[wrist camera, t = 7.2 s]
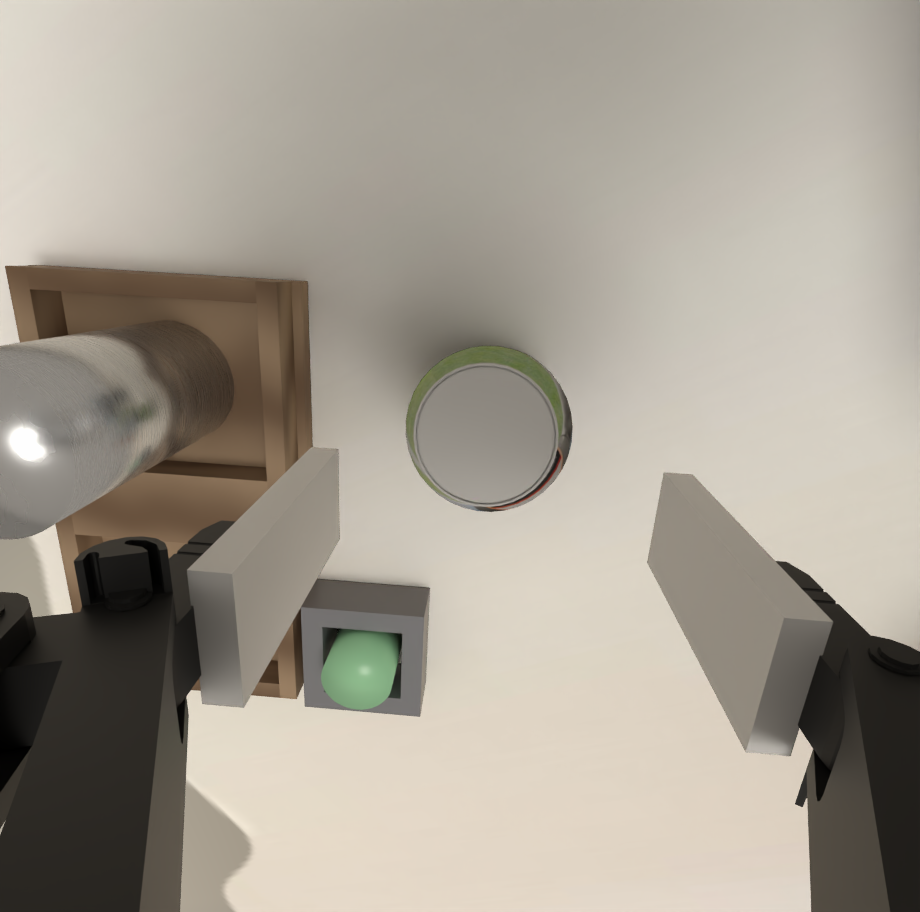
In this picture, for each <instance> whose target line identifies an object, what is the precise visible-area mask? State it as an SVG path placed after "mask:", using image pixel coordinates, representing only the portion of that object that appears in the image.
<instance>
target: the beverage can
mask: <svg viewBox="0 0 920 912" xmlns="http://www.w3.org/2000/svg"><path fill="white" fill-rule="evenodd" d="M406 438H407V445H408V450H409V453H410V455H411V458H412V461H413V463H414V465H415V467H416V469H417V471H418V472H419V474H420V476H421V477H422V478H423V479H424V481H425V482H426V483H427V484H428V485H429V486H430V487H431V488H432V489H433V490H434V491H435V492H436V493H437V494H438V495H440V496H442V497H443V498H445V499H446V500H448V501H449V502H451V503H454V504H456V505H458V506H461V507H463V508H467V509H472V510H476V511H488V512H493V511H503V510H508V509H511V508H515V507H518V506H521V505H523V504H525V503H527V502H529V501H531V500H533V499H534V498H536V497H537V496H538V495H540V494H541V493H543V492H544V491H545V490H546V489H547V488H548V487H549V486H550V485H551V484H552V483H553V482H554V480H555V479H556V477H557V476H558V475H559V473H560V472H561V470H562V468H563V466H564V464H565V462H566V459H567V457H568V454H569V450H570V446H571V442H572V418H571V411H570V408H569V405H568V401H567V398H566V396H565V394H564V392H563V390H562V388H561V386H560V385H559V383H558V382H557V381H556V379H555V378H554V377H553V375H552V374H551V373H550V372H549V371H548V370H547V369H546V368H545V367H544V366H543V365H541V364H540V363H539V362H538V361H536V360H535V359H533V358H532V357H530V356H529V355H527V354H525V353H522V352H520V351H517V350H514V349H509V348H504V347H500V346H479V347H473V348H468V349H465V350H462V351H459V352H456V353H454V354H452V355H450V356H448V357H446V358H445V359H443V360H441V361H440V362H439V363H438V364H436V365H435V366H434V367H433V368H432V369H430V371H429V372H428V373H427V374H426V375H425V376H424V377H423V379H422V380H421V381H420V383H419V385H418V386H417V388H416V390H415V391H414V393H413V396H412V399H411V401H410V404H409V407H408V412H407V418H406Z"/></svg>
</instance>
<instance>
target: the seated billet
mask: <svg viewBox="0 0 920 912" xmlns="http://www.w3.org/2000/svg"><path fill="white" fill-rule="evenodd" d="M233 400H234V381H233V376H232V372H231V369H230V366H229V364H228V362H227V360H226V358H225V356H224V355H223V353H222V352H221V350H220V349H219V348H218V347H217V345H216V344H215V343H214V342H213V341H212V340H211V339H210V338H209V337H207V336H206V335H205V334H203V333H202V332H201V331H199V330H197V329H195V328H194V327H192V326H189V325H187V324H184V323H180V322H176V321H169V320H167V321H154V322H148V323H141V324H135V325H129V326H123V327H116V328H110V329H104V330H97V331H91V332H85V333H78V334H72V335H66V336H59V337H53V338H47V339H41V340H34V341H28V342H22V343H15V344H9V345H3V346H0V539H18V538H24V537H29V536H33V535H35V534H37V533H40V532H42V531H44V530H45V529H47V528H49V527H51V526H52V525H54V524H56V523H57V522H59V521H61V520H63V519H64V518H66V517H68V516H69V515H71V514H73V513H75V512H76V511H78V510H80V509H81V508H83V507H85V506H87V505H88V504H90V503H92V502H93V501H95V500H97V499H99V498H100V497H102V496H104V495H105V494H107V493H109V492H111V491H112V490H114V489H116V488H117V487H119V486H121V485H123V484H124V483H126V482H128V481H129V480H131V479H133V478H134V477H136V476H138V475H140V474H141V473H143V472H145V471H146V470H148V469H150V468H152V467H153V466H155V465H157V464H158V463H160V462H162V461H164V460H165V459H167V458H169V457H170V456H172V455H174V454H176V453H177V452H179V451H181V450H182V449H184V448H186V447H188V446H189V445H191V444H193V443H194V442H196V441H198V440H200V439H201V438H203V437H205V436H206V435H208V434H210V433H211V432H213V431H215V430H216V429H217V428H218V427H219V426H221V424H222V423H223V422H224V421H225V420H226V418H227V416H228V415H229V413H230V410H231V408H232V404H233Z"/></svg>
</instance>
